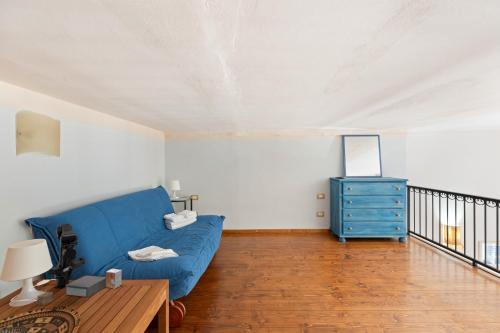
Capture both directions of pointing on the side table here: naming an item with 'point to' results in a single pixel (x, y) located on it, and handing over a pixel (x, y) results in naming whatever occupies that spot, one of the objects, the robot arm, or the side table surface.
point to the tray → (76, 291)
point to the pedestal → (45, 298)
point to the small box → (113, 278)
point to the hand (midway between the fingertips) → (67, 280)
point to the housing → (89, 284)
